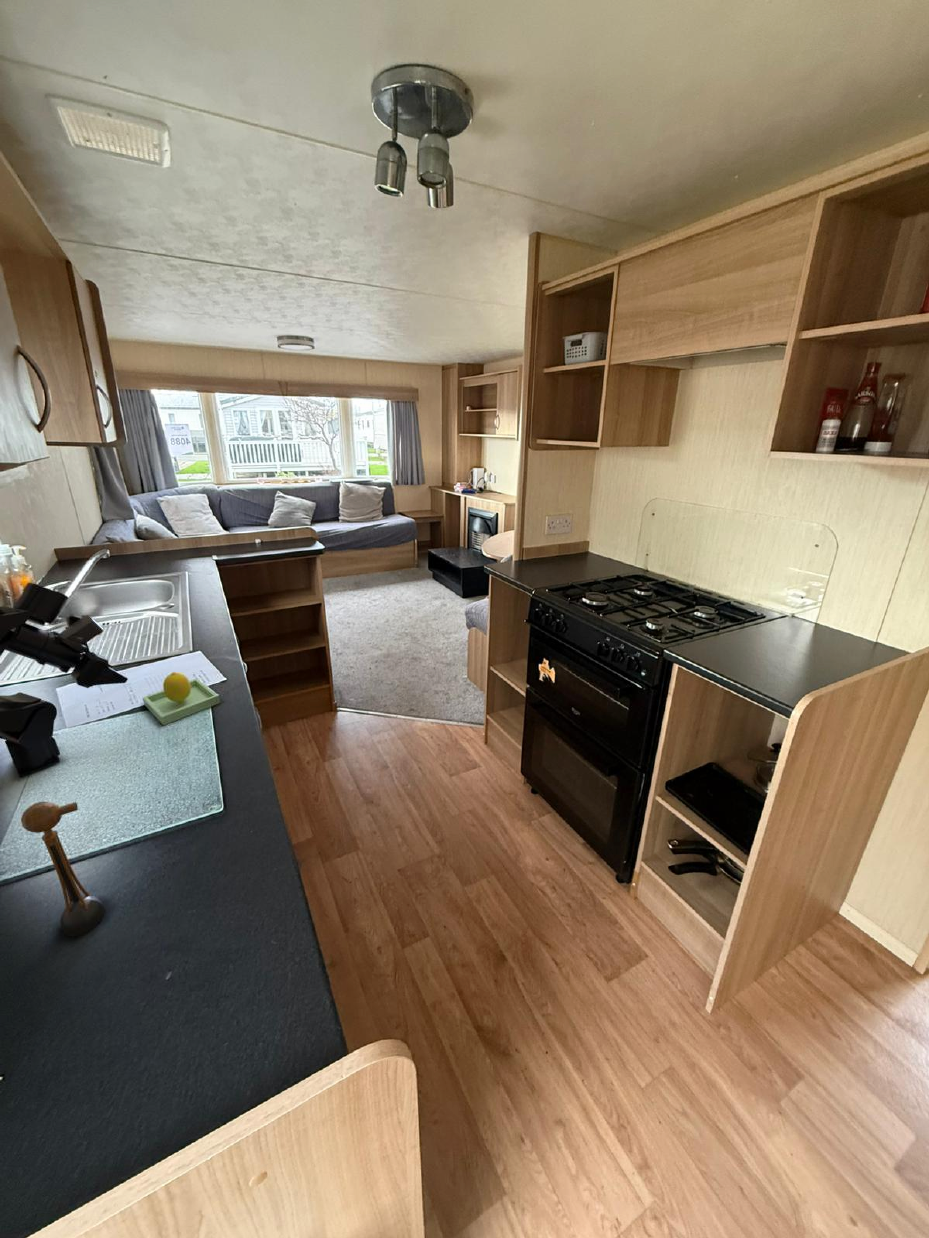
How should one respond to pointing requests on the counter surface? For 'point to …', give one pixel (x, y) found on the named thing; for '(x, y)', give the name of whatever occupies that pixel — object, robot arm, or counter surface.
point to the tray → (173, 710)
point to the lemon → (176, 687)
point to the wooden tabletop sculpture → (64, 868)
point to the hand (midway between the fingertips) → (118, 674)
